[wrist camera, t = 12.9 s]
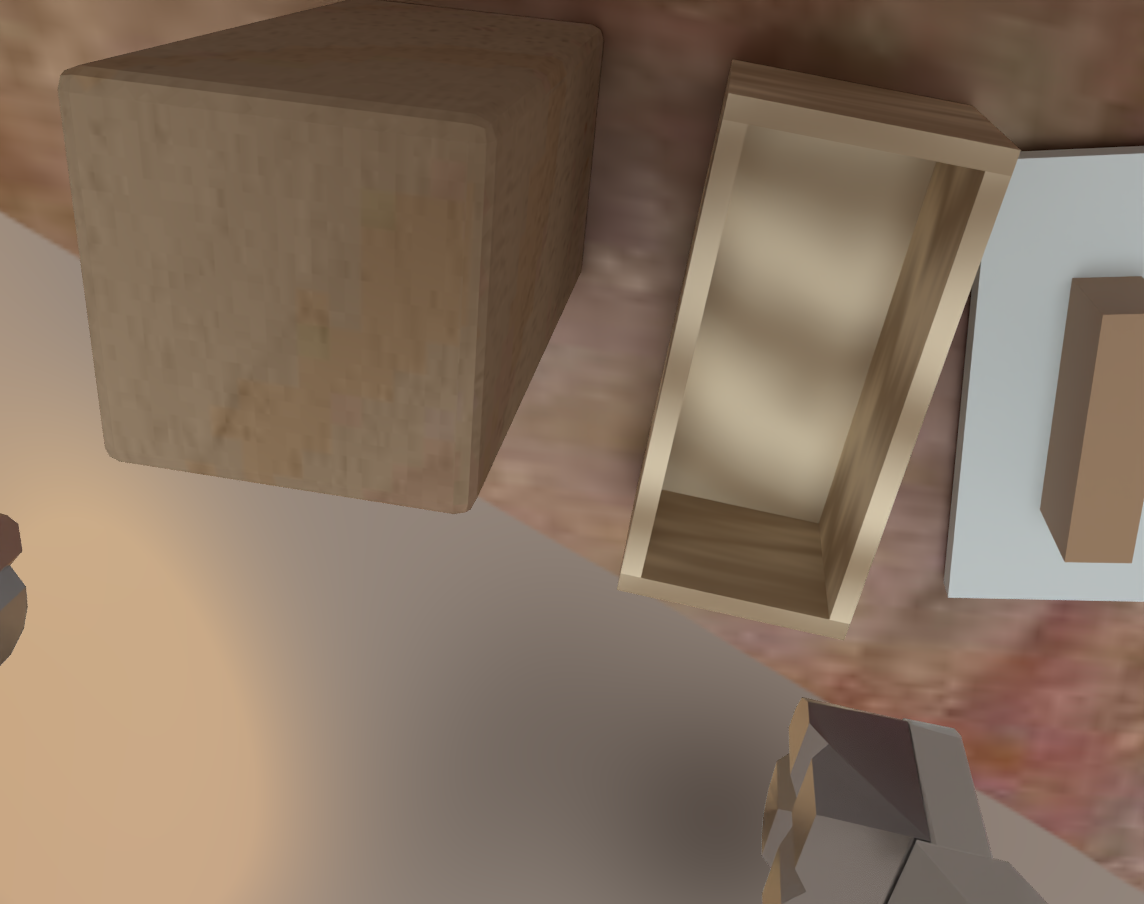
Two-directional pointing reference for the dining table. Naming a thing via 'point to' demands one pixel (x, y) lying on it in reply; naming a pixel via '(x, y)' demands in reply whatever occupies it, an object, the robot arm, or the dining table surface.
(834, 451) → the light wooden open box
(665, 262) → the dining table surface
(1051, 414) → the lid
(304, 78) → the wooden block
